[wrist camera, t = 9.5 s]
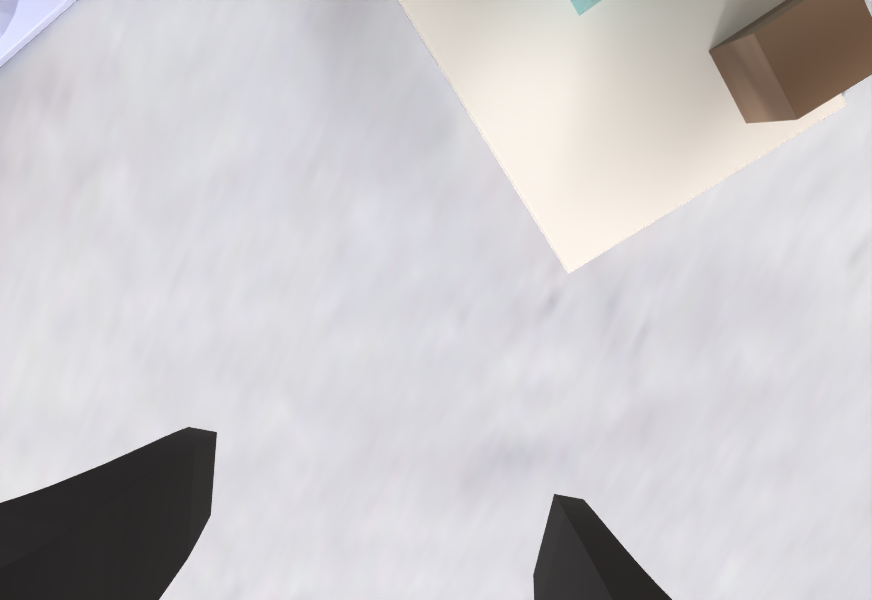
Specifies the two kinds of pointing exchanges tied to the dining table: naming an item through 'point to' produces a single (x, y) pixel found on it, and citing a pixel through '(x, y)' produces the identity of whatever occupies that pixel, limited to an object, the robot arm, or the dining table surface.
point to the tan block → (796, 58)
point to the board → (602, 105)
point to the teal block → (583, 5)
